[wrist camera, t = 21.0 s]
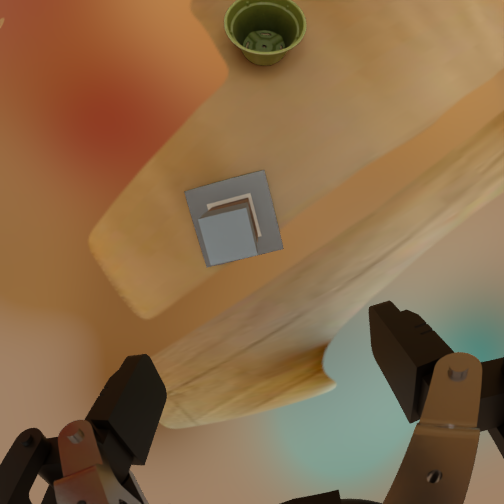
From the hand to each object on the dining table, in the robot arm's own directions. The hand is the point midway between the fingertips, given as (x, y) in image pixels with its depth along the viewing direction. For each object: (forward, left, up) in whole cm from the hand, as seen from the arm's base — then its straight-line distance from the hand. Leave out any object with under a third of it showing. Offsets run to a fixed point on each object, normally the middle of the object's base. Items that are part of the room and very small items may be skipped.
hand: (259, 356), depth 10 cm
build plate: (0, -3, -32) cm, 32 cm away
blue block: (0, -3, -26) cm, 26 cm away
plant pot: (-23, +7, -32) cm, 40 cm away
